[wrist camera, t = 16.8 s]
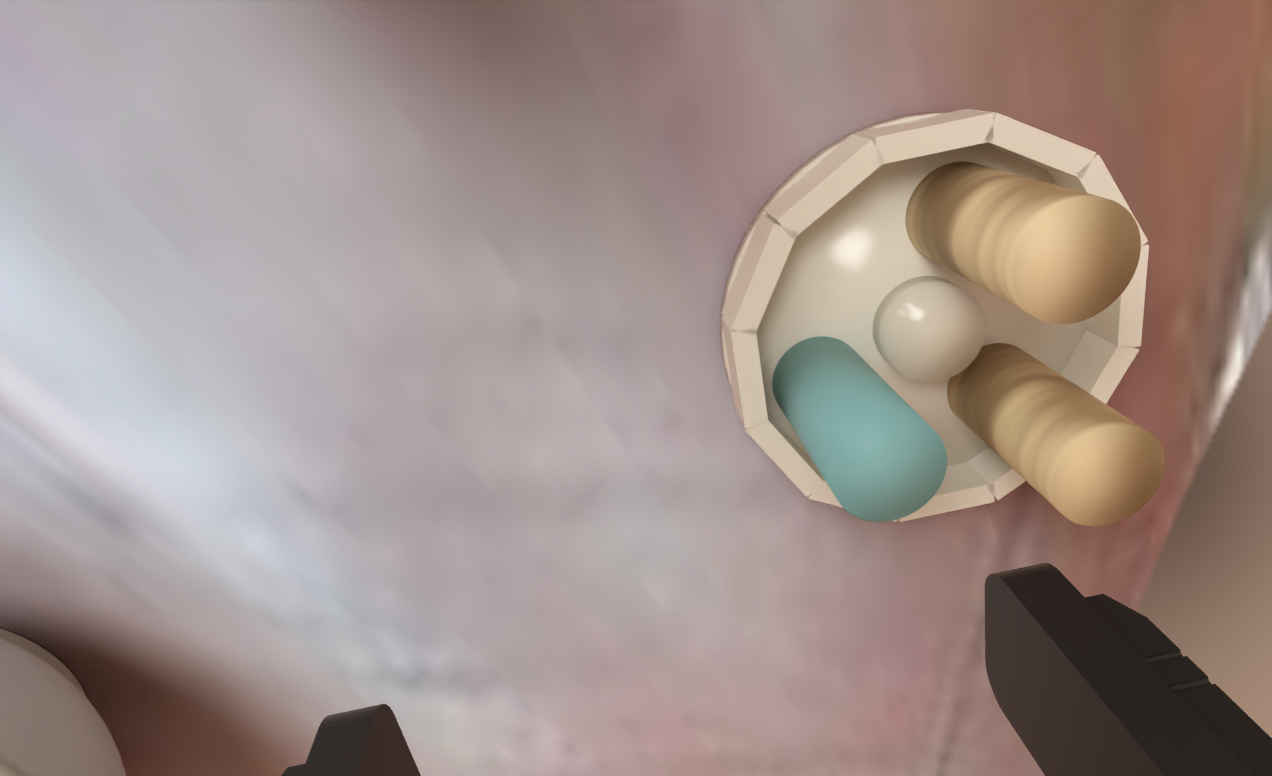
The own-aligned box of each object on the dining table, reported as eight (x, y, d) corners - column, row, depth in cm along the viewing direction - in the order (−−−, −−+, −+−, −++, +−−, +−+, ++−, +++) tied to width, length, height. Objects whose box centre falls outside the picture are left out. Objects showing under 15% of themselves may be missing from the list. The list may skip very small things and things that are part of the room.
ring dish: (747, 515, 45) (761, 552, 42) (691, 160, 37) (704, 171, 34) (1089, 443, 45) (1132, 474, 42) (1109, 72, 37) (1164, 74, 34)
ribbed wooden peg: (948, 433, 43) (1052, 536, 34) (945, 353, 41) (1055, 440, 32) (1033, 415, 43) (1160, 513, 34) (1034, 334, 41) (1170, 415, 32)
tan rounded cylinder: (907, 269, 39) (1013, 335, 30) (903, 172, 37) (1014, 212, 28) (1001, 249, 39) (1136, 310, 30) (1001, 151, 37) (1145, 184, 28)
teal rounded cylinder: (776, 428, 42) (835, 531, 32) (767, 345, 40) (827, 429, 31) (863, 412, 42) (947, 510, 32) (859, 328, 40) (947, 407, 31)
